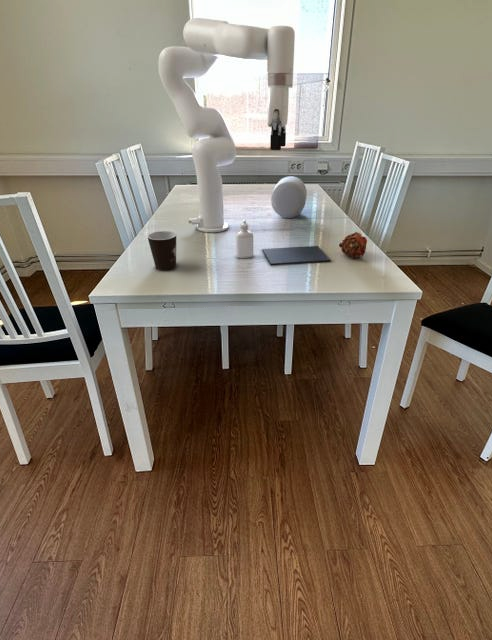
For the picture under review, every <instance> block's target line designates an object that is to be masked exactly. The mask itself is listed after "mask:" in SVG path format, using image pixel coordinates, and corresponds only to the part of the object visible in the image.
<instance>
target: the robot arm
mask: <svg viewBox="0 0 492 640" xmlns="http://www.w3.org/2000/svg"><path fill="white" fill-rule="evenodd" d="M182 34H183V35H182V36H183V41H185V45H186V46H180V45H172V46H166V47H165V48H163V49H162V50H161V52H160V54H159V56H158V60H157V64H158V67H157V68H158V74H159V78H160V81H161V84H162V87H163V88H164V90H165V91H166V94H167V95H168V97H169V99H170V100H171V102H172V105H173V107H174V109H175V111H176V113H177V116H178V118H179V120H180V123H181V125H182V127H183V129H184V131H185V133H186V134H187V136H188V137H189V138H192V139H199V140H197V141H196V142H195V143H194V144H193V146H192V149H191V155H192V156H191V157H192V160H193V164H194V168H195V176H196V184H197V186H196V188H197V196H198V197H197V198H198V212H199V213H198V216H196V217H194V218H193V217H189V218H188V219H187V220H188V224H191V225H196V230H197V231H199V232H203V233H221V232H224V231H226V230H228V229H229V224H228V223H227V222H225V216H224V215H225V214H224V212H225V211H224V190H223V189H224V188H223V187H224V186H223V185H224V184H223V178H222V174H221V173H220V170H219V168H218V167H223V166H227V165H231V164H233V162H235V160H236V157H237V147H236V144H235V141H234V139H233V137H232V134H231V132H230V130H229V127H228V125H227V122H226V120H225V117H224V116H223V114H222V113H221V112H220V111H219V110H218V109H217V108H215V107H213V106H202V105H201V104H200V102H199V99H198V98H197V94H196V92H195V91H194V89H193V88H192V87H191V85H190V84H188V83H187V81H186V80H185V78H186V79H188V78H189V79H200V78H203V77H204V76H206V75H207V74H208V73H209V71H210V69H211V68H212V67H213V65H214V64H216V62H217V61H218V59H219V57H222V58H232V59H235V60H236V59H237V60H243V61H257V62H266V73H267V74H266V88H267V89H269V91H268V92H269V93H268V102H267V103H268V105H267V127H268V128H271V129H270V139H269V140H270V142H269V143H270V144H269V149H270V151H281V149H282V147H286V142H287V141H286V140H287V132H286V131H287V129H286V128H287V127H286V126H287V124H288V118H289V95H290V94H289V93H290V91H289V90H290V89H292V88H293V86H294V82H293V81H294V61H295V41H296V40H295V38H296V35H295V34H296V33H295V29H294V27H292V26H290V25H275V26H271V27H269V28H265V27H260V26H253V25H245V24H244V25H243V24H235V23H229V22H228V21H226V20H220V19H210V18H202V17H193V18H191V19H189V20H188V21H187V22H186V23H185V24H184V27H183V31H182Z"/></svg>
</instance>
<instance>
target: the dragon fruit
mask: <svg viewBox="0 0 492 640" xmlns="http://www.w3.org/2000/svg"><path fill="white" fill-rule="evenodd" d="M367 243H368V240H367V238H366V237H365V236H362V233H360V232H358V231H354V233H350V234H348V235H346V236H344V238H343V239H342V242H339V244H338V247H339V248H340V250H341V252H342V254H343V255H345V256H346V257H348V258H350V259H353V260H354V259H356V258H358V257H363V256H365V254H366V252H367V251H366V250H367Z"/></svg>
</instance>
